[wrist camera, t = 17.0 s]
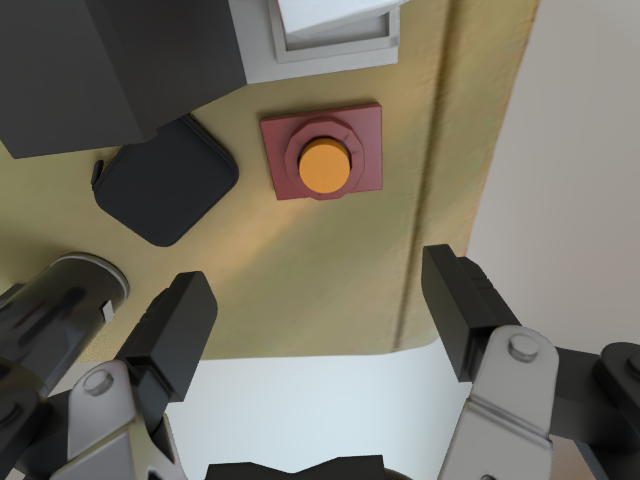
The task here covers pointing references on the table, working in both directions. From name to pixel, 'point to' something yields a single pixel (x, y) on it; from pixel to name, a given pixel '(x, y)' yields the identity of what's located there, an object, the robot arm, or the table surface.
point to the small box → (329, 14)
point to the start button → (324, 165)
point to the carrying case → (165, 181)
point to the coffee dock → (152, 64)
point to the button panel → (337, 124)
